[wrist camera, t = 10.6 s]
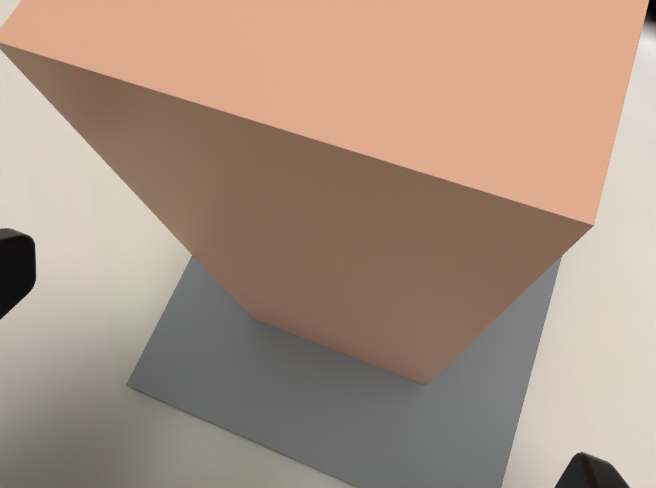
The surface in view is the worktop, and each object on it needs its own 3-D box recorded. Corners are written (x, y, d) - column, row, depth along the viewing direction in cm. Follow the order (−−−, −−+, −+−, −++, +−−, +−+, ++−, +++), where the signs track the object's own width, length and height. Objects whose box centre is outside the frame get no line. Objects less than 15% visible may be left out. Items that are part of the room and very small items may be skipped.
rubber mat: (481, 540, 14) (486, 544, 14) (133, 387, 16) (126, 385, 16) (580, 169, 18) (586, 162, 17) (285, 83, 20) (283, 75, 19)
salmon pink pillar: (425, 385, 15) (594, 225, 4) (251, 318, 16) (-8, 40, 5) (479, 218, 17) (704, -227, 6) (318, 167, 18) (238, -293, 7)
